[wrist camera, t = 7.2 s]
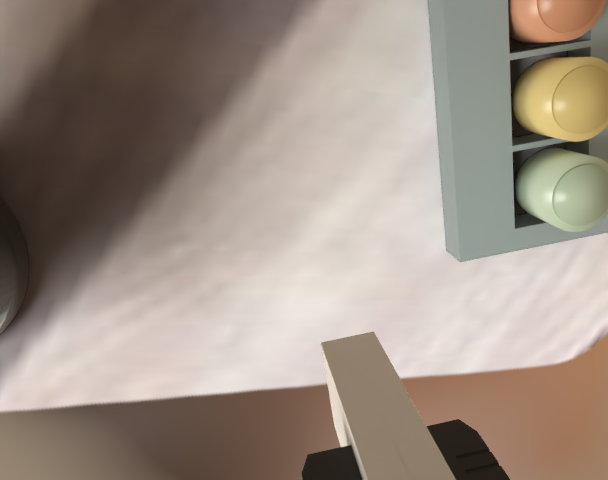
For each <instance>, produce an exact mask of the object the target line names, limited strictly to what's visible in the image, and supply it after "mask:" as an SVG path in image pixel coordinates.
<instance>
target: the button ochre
mask: <svg viewBox="0 0 608 480" xmlns="http://www.w3.org/2000/svg"><path fill="white" fill-rule="evenodd" d="M512 104H513V111H514V114H515V117H516V119H517V121H518V122H519V124H520V125H521V126H522V127H523V128H525V129H526V130H527V131H529V132H532V133H535V134H539V135H544V136H549V137H553V138H558V139H562V140H567V141H574V142H578V141H584V140H588V139H590V138H592V137H594V136H596V135H598V134H599V133H600V132H602V131H603V130H604V129H605V128H606V127H607V126H608V63H607V62H605V61H604V60H602V59H599V58H595V57H565V58H546V59H542V60H540V61H537V62H536V63H534V64H532V65H531V66H530V67H528V68H527V69H526V70H525V71H524V73H523V74H522V75H521V76H520V78H519V80H518V82H517V83H516V86H515V89H514V92H513V100H512Z"/></svg>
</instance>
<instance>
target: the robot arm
mask: <svg viewBox="0 0 608 480" xmlns="http://www.w3.org/2000/svg"><path fill="white" fill-rule="evenodd" d="M28 279H29V260H28V253H27V248H26V244H25V241H24V238H23V235H22V233H21V230H20V228H19V226H18V224H17V222H16V220H15V218H14V217H13V215H12V213H11V212H10V210H9V209H8V207H7V206H6V205H5V204H4V202H3V201H2V200H1V199H0V334H1V333H2V332H3V331H4V329H5V328H6V327H7V326H8V325H9V324H10V322H11V321H12V320H13V318H14V317H15V315H16V314H17V312H18V310H19V308H20V307H21V305H22V302H23V300H24V297H25V294H26V290H27V285H28ZM321 347H322V353H323V359H324V365H325V371H326V377H327V383H328V389H329V395H330V401H331V407H332V413H333V420H334V425H335V429H336V432H337V435H338V438H339V442H340V444H341V447H340V448H335V449H331V450H327V451H322V452H318V453H314V454H309V455H308V456H307V459H306V462H305V465H304V468H303V471H302V477H303V480H510V479H509V477H508V476H507V474H506V473H505V471H504V470H503V469H502V467H501V466H499V464H498V461H497V460H496V459H495V457H494V455H493V454H492V452H490V451H489V448H488V447H487V445H486V444H485V442H484V441H483V439H482V438H481V436H480V435H479V434H478V432H477V431H475V430H474V429H472V428H471V427H469V426H468V425H466V424H465V423H464V422H462V421H461V420H459V419H458V420H453V421H449V422H444V423H440V424H435V425H431V426H426V425H425V423H424V421H423V419H422V418H421V416H420V414H419V412H418V410H417V409H416V407H415V405H414V403H413V401H412V400H411V398H410V396H409V394H408V393H407V391H406V389H405V387H404V385H403V384H402V382H401V380H400V378H399V376H398V374H397V373H396V371H395V369H394V367H393V365H392V364H391V362H390V360H389V358H388V356H387V355H386V353H385V351H384V349H383V347H382V346H381V344H380V342H379V340H378V338H377V337H376V335H375V333H374V332H370V333H365V334H360V335H356V336H351V337H346V338H341V339H337V340H332V341H327V342H322V343H321Z"/></svg>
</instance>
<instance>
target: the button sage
mask: <svg viewBox="0 0 608 480" xmlns="http://www.w3.org/2000/svg"><path fill="white" fill-rule="evenodd" d="M515 195H516V198H517V201H518V203H519V205H520V206H521V207H522V209H523V210H524V211H526V212H527V213H529V214H531V215H533V216H535V217H537V218H539V219H541V220H543V221H545V222H547V223H549V224H551V225H553V226H555V227H557V228H560V229H562V230H564V231H568V232H580V231H584V230H587V229H590V228H592V227H593V226H595V225H597V224H598V223H599V222H601V221H602V220H603V219H604V218H605V217H606V215H607V214H608V163H607V162H605V161H604V160H602V159H600V158H597V157H594V156H589V155H585V154H581V153H577V152H573V151H569V150H565V149H561V148H547V149H543V150H540V151H538V152H536V153H535V154H533V155H532V156H531V157H529V158H528V159H527V160H526V161H525V163H524V164H523V165H522V167H521V168H520V170H519V172H518V175H517V178H516V182H515Z"/></svg>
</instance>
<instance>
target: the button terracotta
mask: <svg viewBox="0 0 608 480" xmlns="http://www.w3.org/2000/svg"><path fill="white" fill-rule="evenodd" d="M605 3H606V0H508V16H509V36H510V37H512V38H513V39H515V40H516V41H519V42H521V43H526V44H533V43H547V42H560V41H569V40H573V39H576V38H578V37H580V36H582V35H584V34H585V33H586V32H588V31H589V30H590V29H591V28H592V27H593V26H594V25H595V23H596V22H597V21H598V19H599V17H600V16H601V14H602V11H603V9H604V6H605Z"/></svg>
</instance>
